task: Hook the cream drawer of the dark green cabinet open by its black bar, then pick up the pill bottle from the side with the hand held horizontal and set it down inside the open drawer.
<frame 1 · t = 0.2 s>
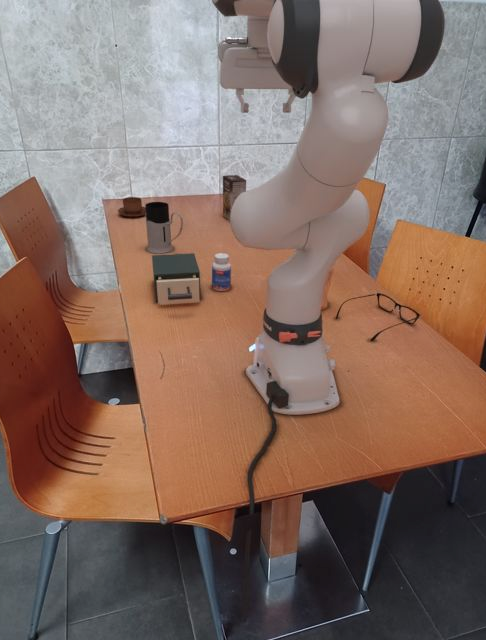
hand: (265, 112, 109), 48 cm above the table, tool pointing down, fingers open, 8 cm apart
pill bottle: (221, 288, 145), on the table
cabinet: (176, 290, 143), on the table
eyeglasses: (375, 323, 129), on the table
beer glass: (316, 305, 137), on the table
drawer: (177, 286, 135), point 4 cm above the table, slide at 2.0 cm
coffee box: (234, 219, 203), on the table
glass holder: (166, 250, 170), on the table
brown round flanged piece: (133, 215, 204), on the table
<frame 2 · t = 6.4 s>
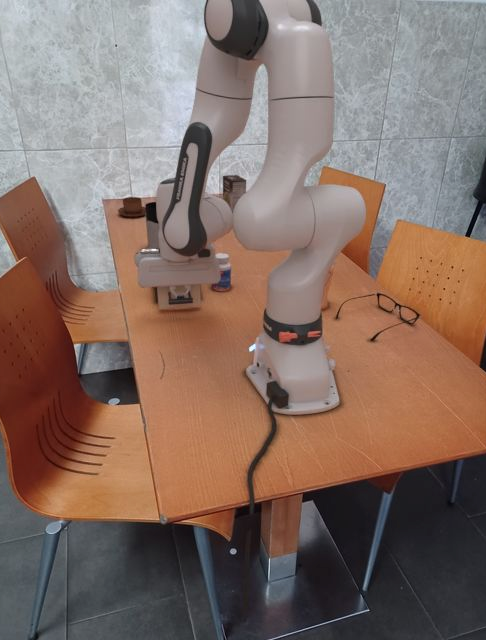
hand: (180, 300, 126), 5 cm above the table, tool pointing down, fingers closed, pressing on drawer
drawer: (178, 290, 133), point 4 cm above the table, slide at 4.7 cm, touching gripper
everything else where it was.
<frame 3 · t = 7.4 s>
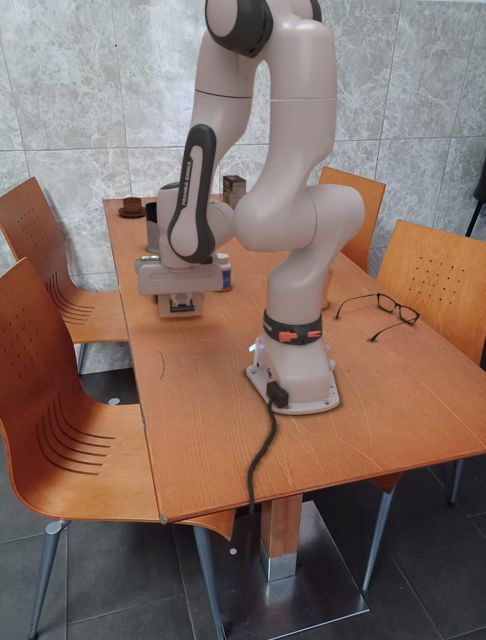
hand: (182, 307, 123), 5 cm above the table, tool pointing down, fingers closed, pressing on drawer
drawer: (179, 298, 129), point 4 cm above the table, slide at 9.1 cm, touching gripper
everything else where it was.
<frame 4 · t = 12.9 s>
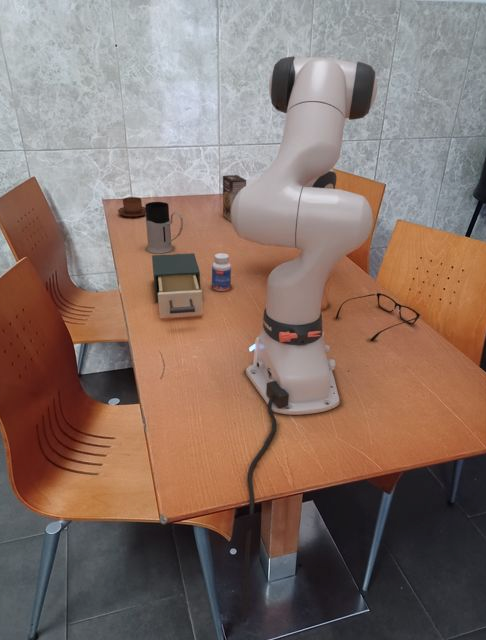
hand: (245, 218, 139), 19 cm above the table, tool horizontal, fingers closed
drawer: (179, 298, 129), point 4 cm above the table, slide at 9.6 cm
everything else where it was.
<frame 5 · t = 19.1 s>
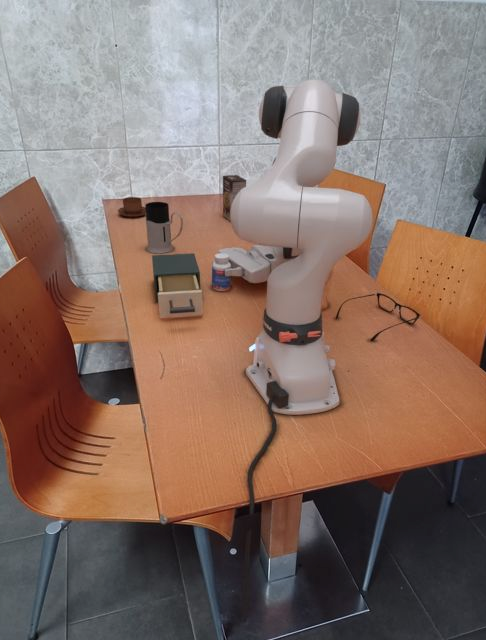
hand: (218, 268, 141), 6 cm above the table, tool horizontal, fingers closed on pill bottle, 5 cm apart
pill bottle: (221, 288, 145), on the table, touching gripper
everything else where it was.
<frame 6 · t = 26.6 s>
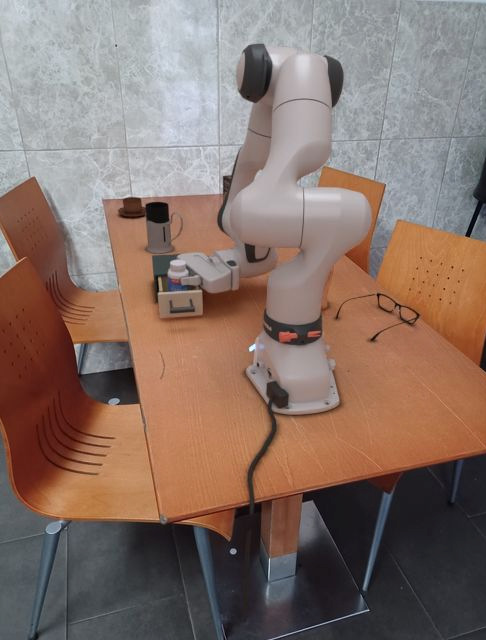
hand: (174, 276, 128), 9 cm above the table, tool horizontal, fingers closed on pill bottle, 5 cm apart
pill bottle: (179, 298, 131), point 3 cm above the table, touching gripper
everything else where it was.
when the fingers open (11 cm above the table, at t = 41.8 s): pill bottle drops 3 cm, resting on drawer.
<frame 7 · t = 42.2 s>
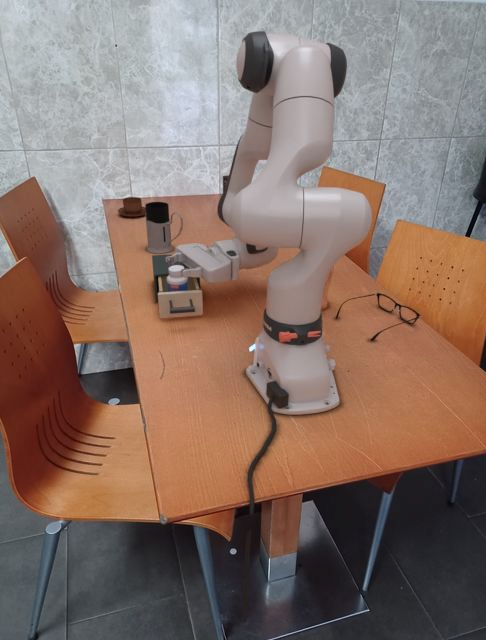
hand: (174, 267, 126), 12 cm above the table, tool horizontal, fingers open, 8 cm apart
pill bottle: (179, 303, 132), point 2 cm above the table, touching drawer
drawer: (179, 298, 129), point 4 cm above the table, slide at 9.6 cm, touching pill bottle
everything else where it was.
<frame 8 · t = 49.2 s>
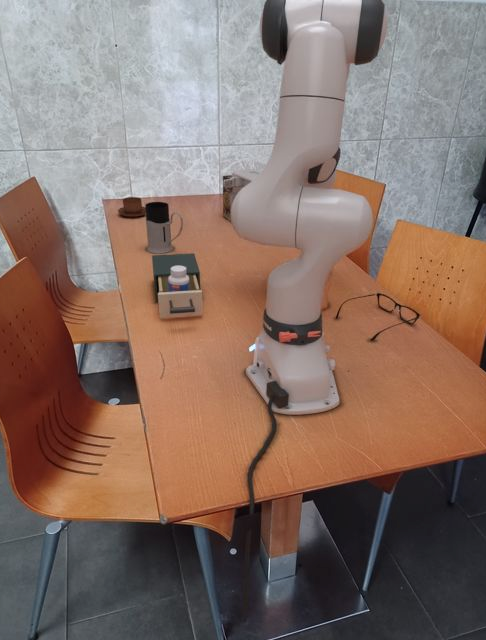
hand: (233, 188, 124), 30 cm above the table, tool horizontal, fingers open, 8 cm apart
nothing on the table moved.
at the end: drawer slide at 9.6 cm; pill bottle inside the target area in the drawer (0.9 cm from its centre), point 1.6 cm above the cabinet's base; the gripper is holding nothing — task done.
